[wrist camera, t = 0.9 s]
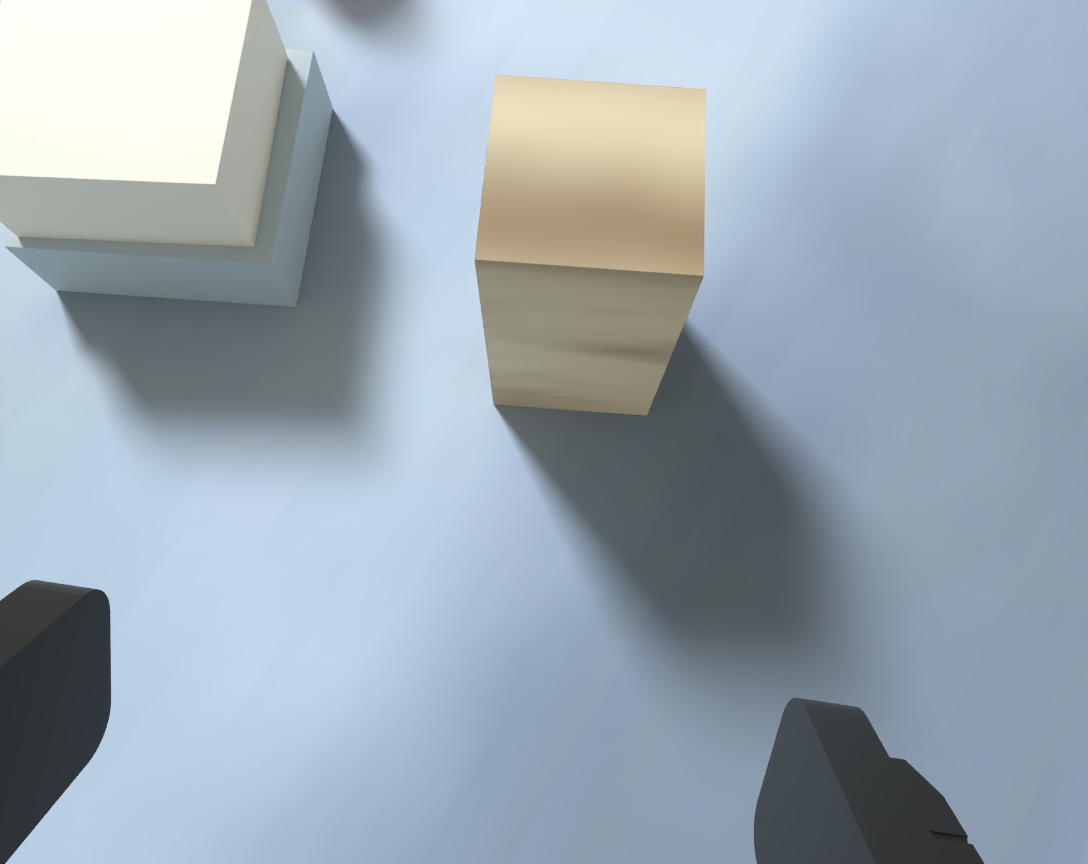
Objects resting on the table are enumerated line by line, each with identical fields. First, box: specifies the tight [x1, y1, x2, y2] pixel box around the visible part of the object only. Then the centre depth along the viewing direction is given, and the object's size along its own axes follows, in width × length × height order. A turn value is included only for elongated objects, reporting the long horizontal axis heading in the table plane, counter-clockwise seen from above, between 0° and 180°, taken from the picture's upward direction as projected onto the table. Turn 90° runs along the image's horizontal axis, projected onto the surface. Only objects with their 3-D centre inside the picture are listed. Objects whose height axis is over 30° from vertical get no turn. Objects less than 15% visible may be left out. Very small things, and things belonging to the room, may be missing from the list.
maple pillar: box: [475, 75, 706, 416], centre depth 25 cm, size 6×6×10 cm
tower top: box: [0, 0, 288, 247], centre depth 27 cm, size 8×8×4 cm
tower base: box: [5, 49, 333, 307], centre depth 30 cm, size 9×9×4 cm
